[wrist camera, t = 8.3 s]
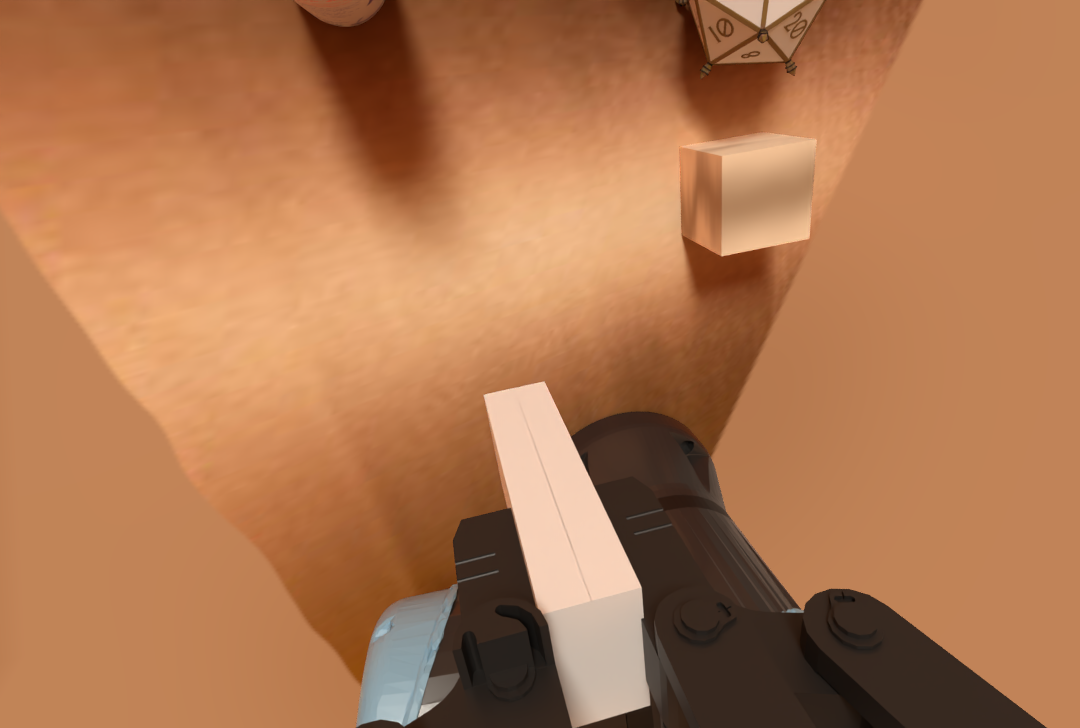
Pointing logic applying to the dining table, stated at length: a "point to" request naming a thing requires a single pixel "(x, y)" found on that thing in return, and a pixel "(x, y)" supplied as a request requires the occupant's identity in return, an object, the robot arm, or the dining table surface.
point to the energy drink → (342, 10)
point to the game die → (752, 30)
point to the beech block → (747, 191)
